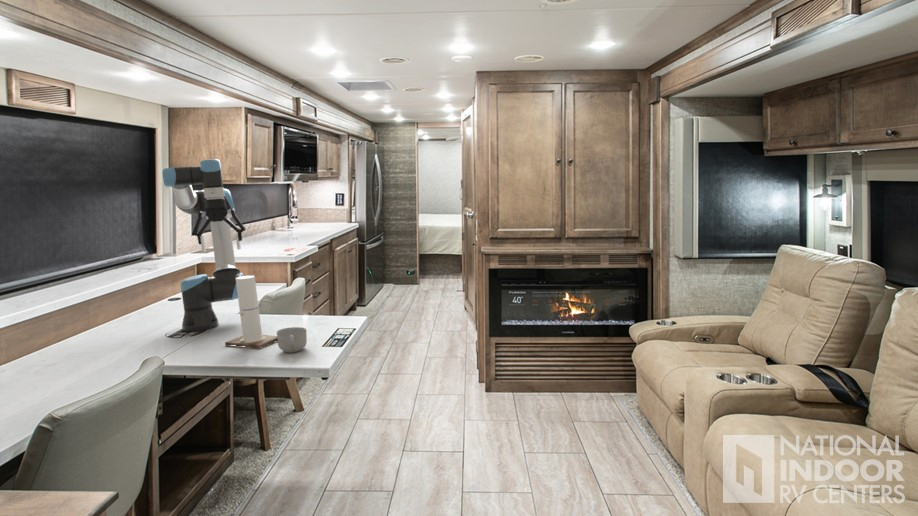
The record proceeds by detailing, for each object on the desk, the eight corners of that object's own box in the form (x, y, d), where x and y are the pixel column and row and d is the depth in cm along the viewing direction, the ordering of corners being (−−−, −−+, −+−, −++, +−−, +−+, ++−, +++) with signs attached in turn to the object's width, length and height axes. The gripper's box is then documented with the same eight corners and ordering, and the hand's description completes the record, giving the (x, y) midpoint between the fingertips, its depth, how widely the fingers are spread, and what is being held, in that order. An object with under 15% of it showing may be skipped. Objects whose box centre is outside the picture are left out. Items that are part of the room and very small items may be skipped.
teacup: (282, 347, 233) (279, 327, 231) (310, 344, 233) (308, 324, 232) (274, 358, 219) (271, 337, 218) (304, 356, 220) (302, 334, 219)
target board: (225, 345, 240) (224, 341, 240) (247, 337, 251) (247, 333, 251) (259, 348, 233) (259, 344, 233) (281, 339, 243) (280, 335, 243)
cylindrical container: (256, 341, 238) (248, 278, 234) (240, 341, 239) (231, 279, 235) (265, 336, 244) (258, 275, 241) (249, 336, 246) (241, 275, 242)
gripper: (179, 201, 237) (186, 254, 241) (245, 196, 241) (252, 248, 245) (184, 200, 245) (191, 252, 248) (248, 195, 249) (254, 246, 252)
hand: (221, 250), depth 246 cm, fingers open, 13 cm apart
